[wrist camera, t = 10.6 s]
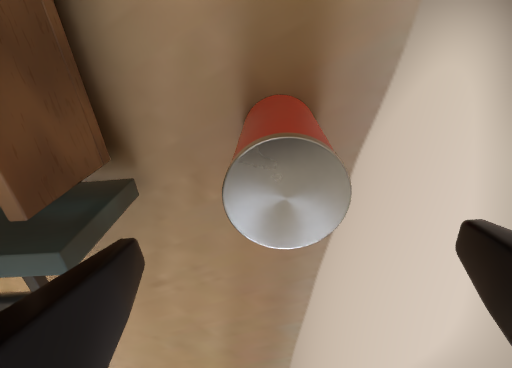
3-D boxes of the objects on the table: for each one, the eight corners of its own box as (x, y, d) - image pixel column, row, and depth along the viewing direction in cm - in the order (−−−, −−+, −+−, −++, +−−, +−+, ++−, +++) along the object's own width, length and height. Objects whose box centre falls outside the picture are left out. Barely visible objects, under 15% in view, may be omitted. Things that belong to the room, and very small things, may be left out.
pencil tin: (316, 162, 17) (348, 246, 10) (247, 167, 18) (231, 252, 10) (316, 89, 15) (355, 130, 8) (238, 97, 16) (211, 143, 8)
